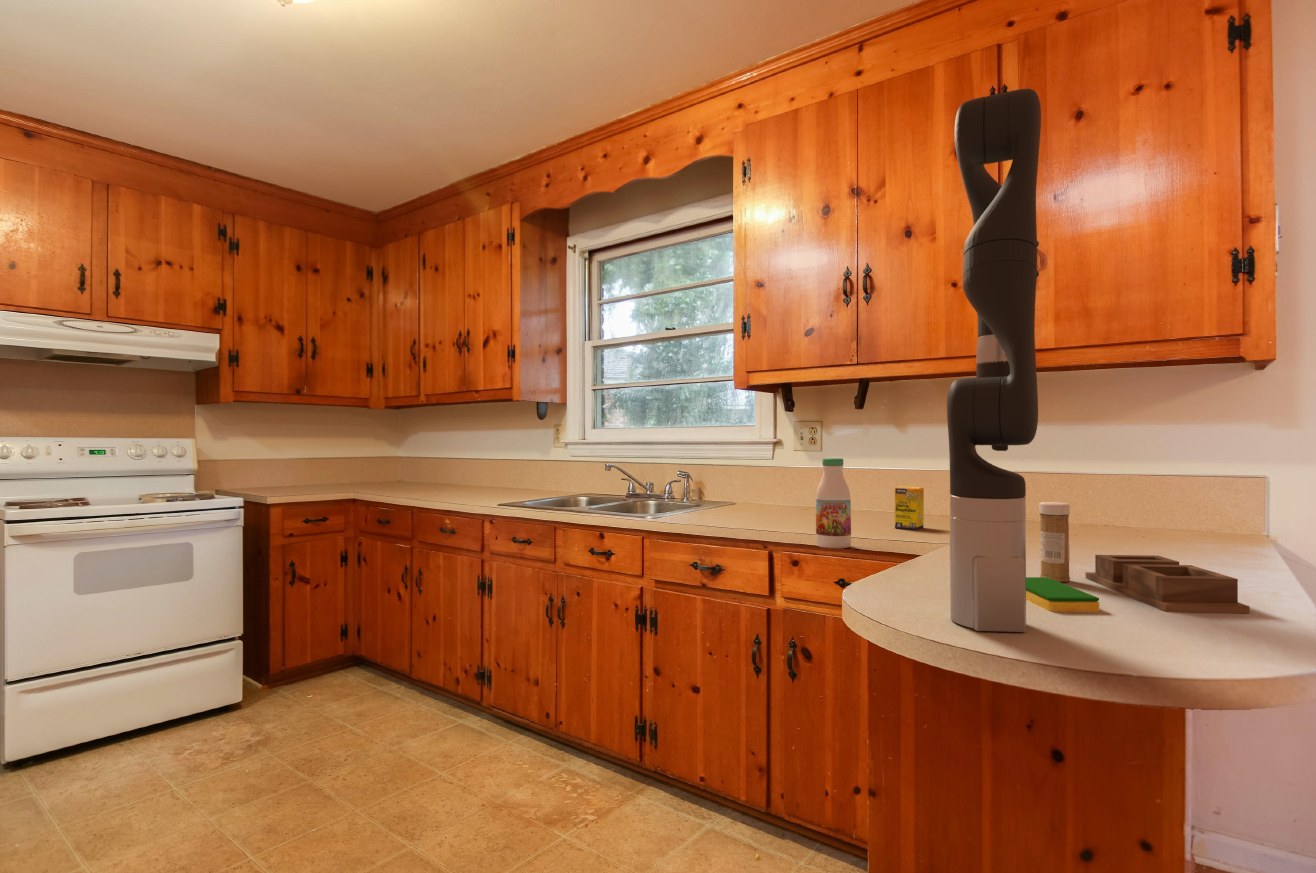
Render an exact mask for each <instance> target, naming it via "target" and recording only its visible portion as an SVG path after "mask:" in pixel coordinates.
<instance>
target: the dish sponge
mask: <svg viewBox="0 0 1316 873" xmlns="http://www.w3.org/2000/svg"><path fill="white" fill-rule="evenodd" d="M1026 601H1028V602H1030V603H1031V604H1034V605H1036V606H1038V607H1041V608H1042V609H1044V610H1046V611H1048V612H1057V613H1059V612H1060V613H1061V612H1064V613H1066V612H1067V613H1070V612H1071V613H1073V612H1079V613H1081V612H1087V613H1088V612H1095V613H1096V612H1100V602H1099V601H1100V597H1098V596H1095V595H1094V594H1091V593H1088V592H1085V591H1082V590H1080V589H1078V588H1075V587H1073V586H1070V585H1068V584H1065V583H1064V582H1058V581H1055V580H1053V579H1050V578H1048V577H1038V576H1037V577H1036V576H1035V577H1033V576H1031V577H1030V576H1029V577H1027V576H1026Z"/></svg>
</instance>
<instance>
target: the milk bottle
mask: <svg viewBox="0 0 1316 873" xmlns="http://www.w3.org/2000/svg"><path fill="white" fill-rule="evenodd" d="M822 468H823V471H822V476H821V480H820V481H819V484H818V486H817V489H816V493H815V494H816V495H815V544H816V546H817V547H820V548H825V549H848V548H850V547H851V545H852V504H851V502H852V501H851V499H852V498H851V492H850V488H849V486H848V483H847V482H846V480H845V479H846V478H845V476H844V473H843V468H844V458H842V457H824V458H822Z"/></svg>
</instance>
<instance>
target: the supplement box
mask: <svg viewBox="0 0 1316 873" xmlns="http://www.w3.org/2000/svg"><path fill="white" fill-rule="evenodd" d="M924 488H925V487H922V486H921V487H916V486H903V485H901V486H896V487H895V488H894V529H899V530H902V529H903V530H913V531H919V530H922V529H923V528H924V520H925V519H924V517H925V516H924V513H925V512H924V508H925V507H924V506H925V504H924V502H925V501H924V493H925V492H924Z"/></svg>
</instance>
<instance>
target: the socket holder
mask: <svg viewBox="0 0 1316 873" xmlns="http://www.w3.org/2000/svg"><path fill="white" fill-rule="evenodd" d="M1094 556H1095V559H1094V560H1095V561H1094V562H1095V563H1094V564H1095V566H1094V567H1095V569H1094V570H1095V571H1094V572H1091V571H1090V572H1089V571H1088V572H1085V579H1087V580H1088V581H1089V580H1090V581H1092V582H1094V583H1096V584H1099V585H1102V586H1104V587H1106V588H1109V589H1111V590H1113V591H1115V592H1118V593H1121V595H1122V594H1123V595H1125V596H1127V597H1130V598H1133V599H1135V600H1137V601H1140V602H1142V603H1144V604H1146V605H1149V606H1151V607H1154V608H1156V609H1159V610H1161V611H1162V612H1168V613H1169V612H1170V613H1171V612H1173V613H1215V614H1217V613H1218V614H1227V613H1228V614H1250V605H1247V604H1244V603H1241V602H1239V601H1238V600H1239V599H1238V598H1239V597H1238V596H1239V595H1238V594H1239V593H1238V591H1239V589H1238V588H1239V587H1238V586H1239V585H1238V582H1239V580H1238V578H1236V577H1232V576H1228V575H1225V574H1221V573H1219V572H1215V571H1211V570H1209V569H1205V568H1202V567H1198V566H1196V565H1190V564H1180V561H1178V560H1175V559H1171V558H1169V557H1168V558H1167V557H1165V556H1160V555H1154V554H1152V555H1147V554H1143V555H1139V554H1138V555H1136V554H1134V555H1133V554H1129V555H1128V554H1095V555H1094Z"/></svg>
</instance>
